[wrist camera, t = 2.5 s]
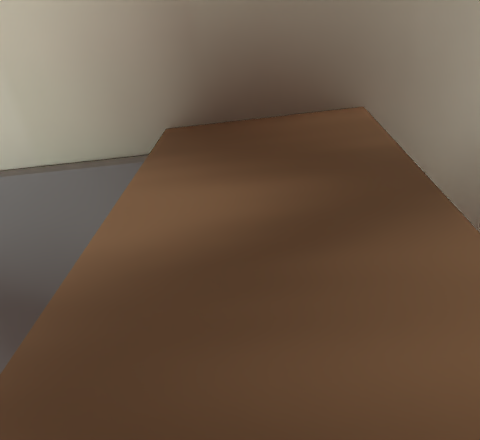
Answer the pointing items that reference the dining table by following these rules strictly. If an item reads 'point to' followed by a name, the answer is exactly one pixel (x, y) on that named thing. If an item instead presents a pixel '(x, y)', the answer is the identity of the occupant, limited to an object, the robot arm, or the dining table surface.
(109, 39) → the dining table surface
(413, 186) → the slab
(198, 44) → the dining table surface
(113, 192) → the mat
